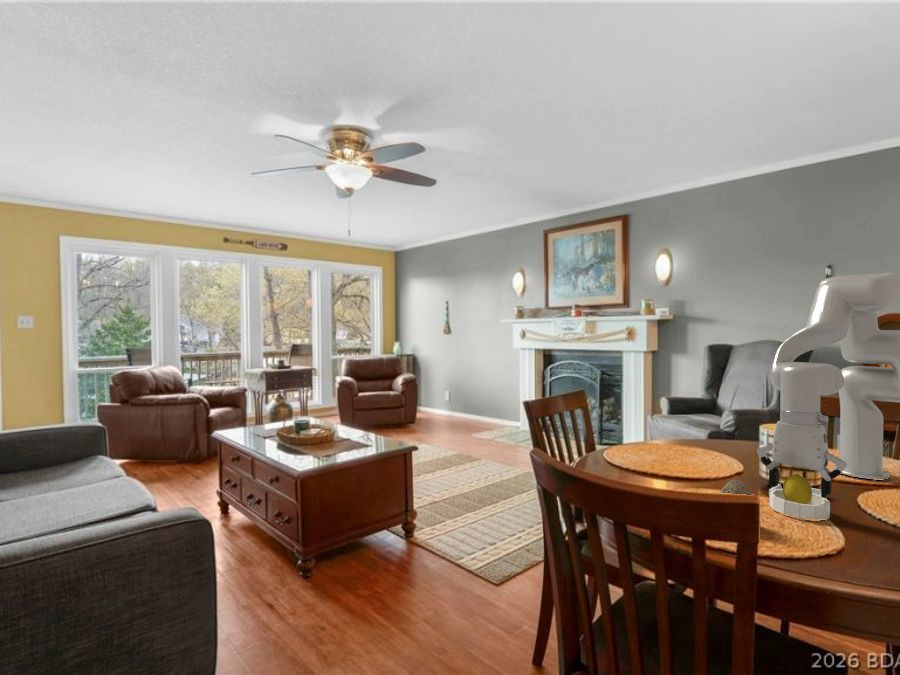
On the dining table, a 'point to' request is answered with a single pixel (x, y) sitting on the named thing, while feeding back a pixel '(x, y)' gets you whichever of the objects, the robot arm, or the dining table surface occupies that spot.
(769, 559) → the dining table surface
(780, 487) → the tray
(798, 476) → the lemon
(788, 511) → the bowl
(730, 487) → the decorative egg
